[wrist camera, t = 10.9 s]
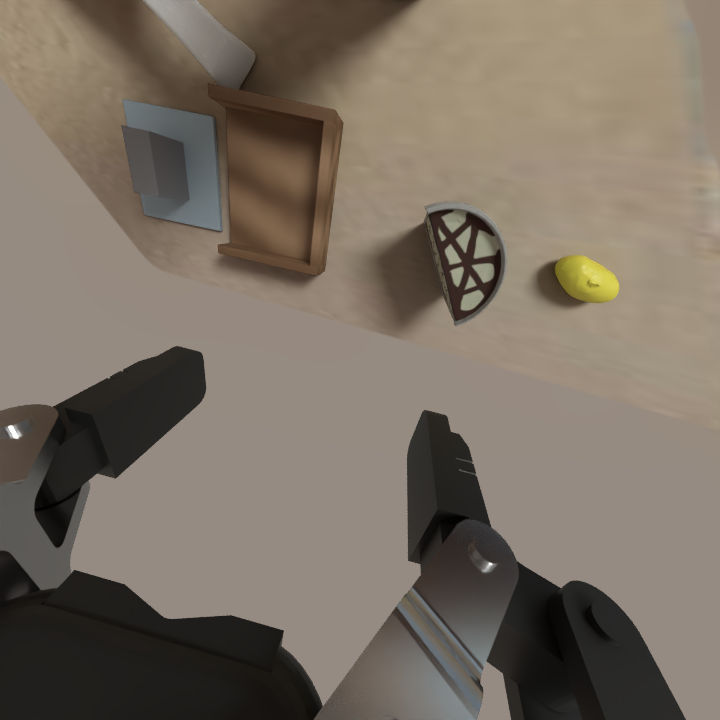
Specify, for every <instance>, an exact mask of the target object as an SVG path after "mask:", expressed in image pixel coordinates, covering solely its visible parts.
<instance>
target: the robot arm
mask: <svg viewBox="0 0 720 720" xmlns="http://www.w3.org/2000/svg"><path fill="white" fill-rule="evenodd" d="M205 392H206V381H205V371H204V360H203V355H202V354H201V352H198V351H194V350H191V349H187V348H183V347H179V346H176V347H173V348H171V349H169V350H167V351H165V352H164V353H162V354H160V355H158V356H156V357H152V358H148V359H145V360H142V361H139V362H137V363H135V364H133V365H131V366H129V367H127V368H125V369H124V370H123V372H122V371H120V372H118V373H116V374H114V375H112V376H111V377H110V379H108V378H106V379H105V380H103V381H101V382H99V383H97V384H95V385H93V386H92V387H89V388H88V389H86V390H84V391H82V392H80V393H78V394H76V395H74V396H73V397H71V398H69V399H67V400H65V401H63V402H61V403H59V404H57V405H56V406H53V407H51V406H48V405H41V404H33V405H23V406H17V407H13V408H8V409H5V410H2V411H0V720H477V717H478V715H479V711H480V708H481V704H482V699H483V687H482V686H481V684H480V679H481V674H482V671H483V668H484V666H485V663H486V661H487V662H488V663H490V664H491V665H492V666H494V667H495V668H496V669H498V670H499V671H500V672H502V673H503V676H504V682H505V687H506V693H507V698H508V704H509V710H510V715H511V720H686V719H685V717H684V715H683V713H682V711H681V710H680V708H679V706H678V704H677V702H676V700H675V698H674V696H673V694H672V693H671V691H670V689H669V687H668V685H667V683H666V681H665V679H664V678H663V676H662V674H661V672H660V670H659V668H658V666H657V664H656V662H655V661H654V659H653V657H652V655H651V653H650V651H649V649H648V647H647V646H646V644H645V642H644V640H643V638H642V637H641V635H640V633H639V631H638V630H637V628H636V627H635V626H634V624H633V622H632V621H631V620H630V618H629V617H628V616H627V615H626V614H625V612H624V611H623V610H622V609H621V608H620V607H619V606H618V605H617V604H616V603H615V602H614V601H613V600H612V599H611V598H609V597H608V596H607V595H606V594H604V593H603V592H602V591H600V590H599V589H597V588H596V587H594V586H592V585H590V584H588V583H585V582H582V581H570V582H569V583H567V584H566V585H564V586H563V587H562V588H560V587H558V586H556V585H555V584H553V583H551V582H549V581H548V580H546V579H545V578H543V577H541V576H539V575H538V574H536V573H535V572H533V571H531V570H530V569H528V568H526V567H525V566H523V565H522V564H520V563H519V562H517V560H516V558H515V556H514V553H513V551H512V550H511V548H510V546H509V545H508V544H507V542H506V541H505V540H504V539H503V538H502V536H501V535H500V534H498V532H497V531H495V530H494V529H493V528H492V527H491V525H490V521H489V518H488V514H487V510H486V507H485V503H484V500H483V496H482V493H481V490H480V486H479V483H478V479H477V476H476V472H475V468H474V464H472V457H471V454H470V450H469V447H468V446H467V444H466V443H465V442H464V440H463V439H462V437H461V436H460V435H459V434H456V433H453V432H451V431H450V426H449V422H448V418H447V416H446V415H442V414H439V413H435V412H431V411H427V410H424V411H423V412H422V414H421V417H420V419H419V422H418V424H417V426H416V430H415V431H414V434H413V436H412V439H411V441H410V445H409V449H408V455H407V492H408V493H407V495H408V561H411V562H415V563H418V564H421V575H420V576H419V578H418V579H417V580H416V582H415V583H414V585H413V586H412V587H411V589H410V590H409V591H408V593H407V594H405V596H404V597H403V598H402V600H401V601H400V602H399V603H398V605H397V606H396V607H395V609H394V610H393V611H392V613H391V614H390V616H389V617H388V618H387V620H386V621H385V622H384V624H383V625H382V627H381V628H380V629H379V631H378V632H377V633H376V635H375V636H374V638H373V639H372V640H371V642H370V643H369V645H368V646H367V647H366V648H365V650H364V651H363V653H362V654H361V655H360V657H359V658H358V659H357V661H356V662H355V664H354V665H353V667H352V668H351V669H350V670H349V672H348V673H347V675H346V676H345V677H344V679H343V680H342V681H341V683H340V684H339V685H338V687H337V688H336V690H335V691H334V692H333V694H332V695H331V697H330V698H329V699H328V701H327V702H326V703H325V705H324V706H322V703H321V700H320V697H319V695H318V693H317V691H316V689H315V687H314V685H313V683H312V681H311V679H310V678H309V676H308V675H307V673H306V671H305V670H304V668H303V667H302V666H301V664H300V663H299V662H298V661H297V660H296V659H295V658H294V657H293V655H291V654H290V653H289V652H288V651H287V650H285V649H284V648H283V647H282V646H281V645H282V638H283V632H284V631H283V630H280V629H276V628H273V627H269V626H266V625H262V624H259V623H256V622H252V621H249V620H245V619H242V618H238V617H235V616H231V615H230V616H215V617H198V618H183V619H167V618H164V617H163V616H161V615H160V614H159V613H158V612H156V611H155V610H154V609H153V608H152V607H151V606H149V605H148V604H147V603H146V602H145V601H143V600H142V599H141V598H140V597H139V596H138V595H136V594H135V593H134V592H133V591H132V590H131V589H129V588H128V587H127V586H126V585H125V584H121V583H117V582H114V581H111V580H107V579H103V578H100V577H97V576H94V575H90V574H87V573H83V572H80V571H76V570H74V571H73V572H72V573H71V569H70V556H71V551H72V548H73V544H74V541H75V538H76V534H77V531H78V527H79V524H80V521H81V517H82V514H83V511H84V507H85V504H86V501H87V497H88V494H89V490H90V483H89V481H88V480H89V479H91V478H92V477H93V476H94V475H96V474H97V473H98V474H101V475H105V476H108V477H112V478H117V477H118V476H119V475H120V474H121V473H122V472H123V471H125V470H126V469H127V468H128V467H129V466H130V465H131V464H132V463H134V462H135V461H136V460H137V459H138V458H139V457H140V456H141V455H143V454H144V453H145V452H146V451H147V450H148V449H149V448H150V447H152V446H153V445H154V444H155V443H156V442H157V441H158V440H159V439H161V438H162V437H163V436H164V435H165V434H166V433H167V432H168V431H169V430H170V429H172V428H173V427H174V426H175V425H176V424H177V423H178V422H180V420H182V419H183V418H184V417H185V416H186V415H187V414H188V413H190V412H191V411H192V410H193V409H194V408H195V407H196V406H197V405H198V404H200V402H201V401H202V399H203V398H204V395H205Z"/></svg>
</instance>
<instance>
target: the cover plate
mask: <svg viewBox="0 0 720 720" xmlns="http://www.w3.org/2000/svg"><path fill="white" fill-rule="evenodd" d="M123 104H124V110H125V115H126V120H127V126H128V127H127V126H122V125H121V126H122V131H123V136H124V141H125V146H126V151H127V156H128V161H129V166H130V171H131V177H132V182H133V187H134V192H137V193H140V195H141V200H142V205H143V211H144V215H147V216H152V217H156V218H161V219H166V220H171V221H175V222H180V223H185V224H189V225H194V226H199V227H204V228H208V229H213V230H218V231H223V229H222V213H221V198H220V182H219V166H218V151H217V135H216V120H215V117H213V116H208V115H203V114H197V113H192V112H187V111H182V110H177V109H171V108H166V107H161V106H156V105H151V104H145V103H140V102H135V101H130V100H125V99H123Z"/></svg>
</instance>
